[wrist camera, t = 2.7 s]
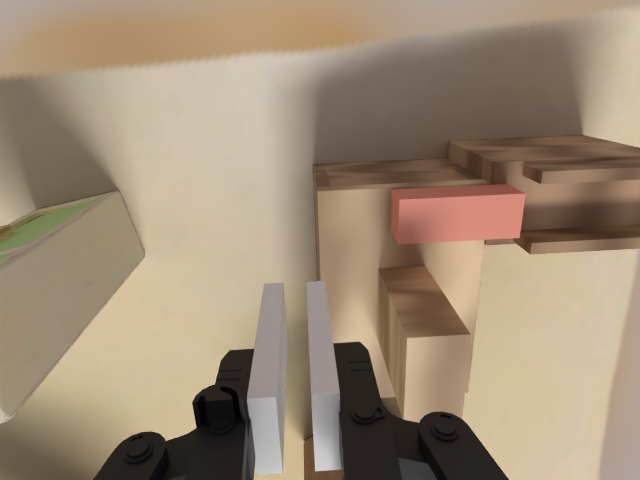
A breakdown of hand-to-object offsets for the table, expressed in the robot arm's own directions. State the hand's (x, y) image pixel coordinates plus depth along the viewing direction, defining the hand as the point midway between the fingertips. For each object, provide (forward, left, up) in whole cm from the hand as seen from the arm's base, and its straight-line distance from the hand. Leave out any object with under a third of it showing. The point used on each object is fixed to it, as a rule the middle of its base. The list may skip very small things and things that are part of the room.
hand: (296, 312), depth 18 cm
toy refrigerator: (-19, -3, -23) cm, 30 cm away
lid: (+8, -8, -14) cm, 18 cm away
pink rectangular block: (+10, 0, -13) cm, 17 cm away
